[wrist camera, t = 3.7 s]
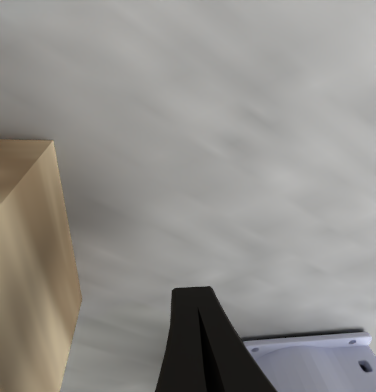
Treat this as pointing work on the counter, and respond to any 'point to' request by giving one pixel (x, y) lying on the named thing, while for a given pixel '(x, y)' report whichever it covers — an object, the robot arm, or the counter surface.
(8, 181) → the maple tile
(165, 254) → the counter surface
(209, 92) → the counter surface
